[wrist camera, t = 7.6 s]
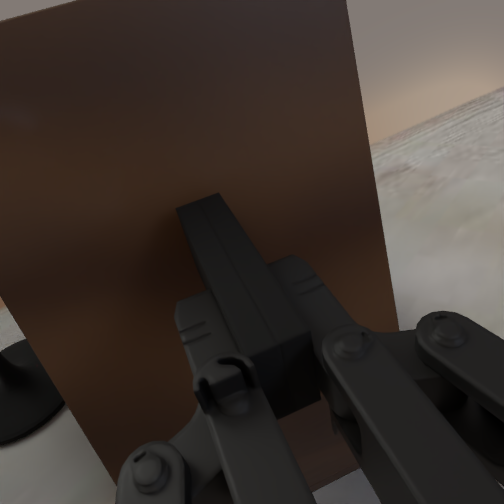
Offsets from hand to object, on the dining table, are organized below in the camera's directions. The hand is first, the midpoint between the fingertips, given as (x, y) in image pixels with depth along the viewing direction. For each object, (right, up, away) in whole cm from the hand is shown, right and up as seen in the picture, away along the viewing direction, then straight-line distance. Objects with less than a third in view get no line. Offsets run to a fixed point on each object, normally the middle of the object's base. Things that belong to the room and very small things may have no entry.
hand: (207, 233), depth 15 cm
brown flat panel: (0, 0, +2) cm, 2 cm away
